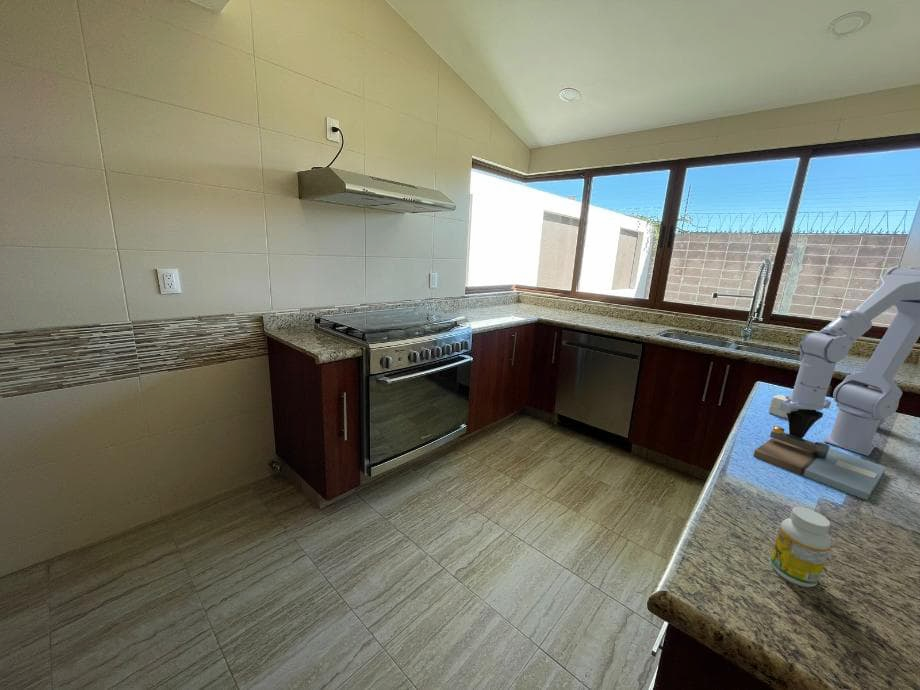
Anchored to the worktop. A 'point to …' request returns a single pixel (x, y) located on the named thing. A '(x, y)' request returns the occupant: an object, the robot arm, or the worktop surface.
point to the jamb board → (785, 455)
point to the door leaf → (846, 473)
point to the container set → (777, 406)
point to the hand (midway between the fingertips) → (795, 436)
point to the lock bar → (801, 442)
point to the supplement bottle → (801, 547)
